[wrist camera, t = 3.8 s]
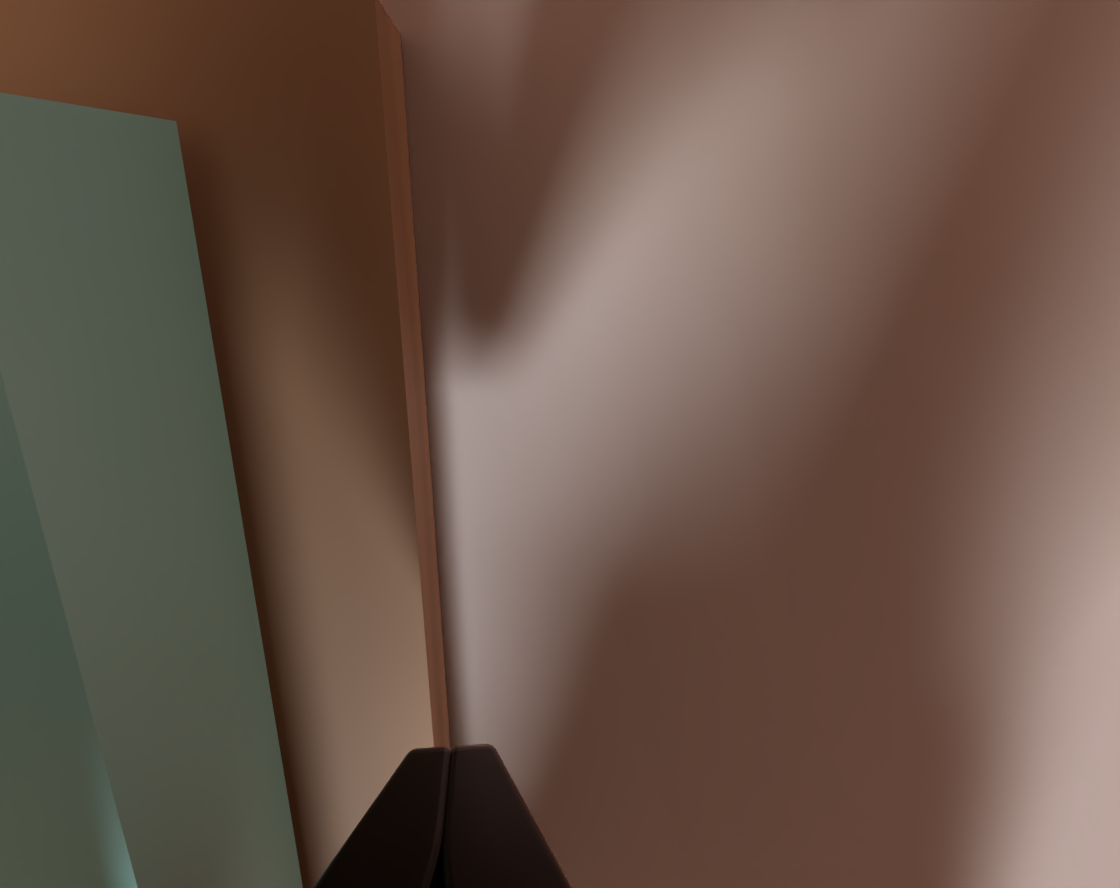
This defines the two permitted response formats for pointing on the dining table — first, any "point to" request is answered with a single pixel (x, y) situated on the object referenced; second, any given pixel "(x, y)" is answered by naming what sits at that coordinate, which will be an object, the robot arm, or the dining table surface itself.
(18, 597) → the long mint beam
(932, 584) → the dining table surface
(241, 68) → the walnut board
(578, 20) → the dining table surface
